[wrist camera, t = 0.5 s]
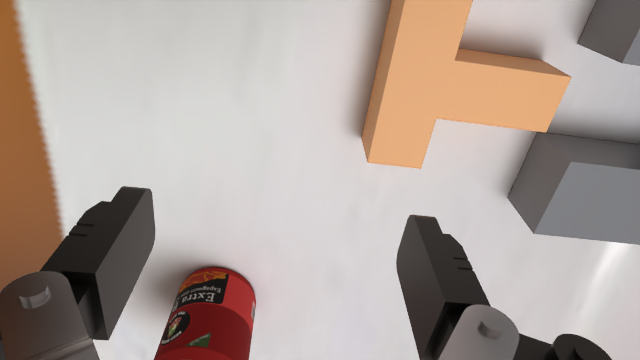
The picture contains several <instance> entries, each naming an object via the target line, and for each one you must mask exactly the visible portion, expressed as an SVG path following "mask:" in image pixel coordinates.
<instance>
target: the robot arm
mask: <svg viewBox="0 0 640 360" xmlns="http://www.w3.org/2000/svg"><path fill="white" fill-rule="evenodd" d="M154 240H155V222H154V210H153V199H152V192H151V190H150V189H147V188H137V187H126V186H123V187H121V188H120V190H119V191H118V193H117V194H116V195H115V197H114V198H113V200H112V201H111V202H105V201H101V202H100V203H98V204H96V205H95V206H93V207H92V208H90V209H88V210H87V211H86V212H85V213H84V214H83V216H82V217H81V218H80V220H79V221H78V222H77V225H76V226H74V227H73V229H72V230H71V231H70V232H69V236H66V238H65V239H64V240H63V241H62V243H61V244H60V245H59V247H58V248H57V249H56V251H55V252H54V253H53V254H52V256H51V257H50V258H49V260H48V261H47V262H46V263H45V265H44V266H43V267H42V269H41V270H40V271H39V272H34V273H31V274H27V275H24V276H22V277H20V278H18V279H16V280H14V281H12V282H11V283H9V284H8V285H7V286H6V287H5V288H3V289H2V291H1V292H0V360H100V359H99V357H98V354H97V351H96V348H95V346H94V343H93V341H92V340H93V339H96V340H109V338H110V336H111V334H112V332H113V330H114V328H115V326H116V323H117V321H118V319H119V317H120V315H121V313H122V311H123V309H124V307H125V305H126V303H127V301H128V299H129V296H130V294H131V292H132V290H133V288H134V286H135V284H136V282H137V280H138V278H139V276H140V274H141V271H142V269H143V267H144V265H145V263H146V261H147V259H148V257H149V255H150V253H151V251H152V248H153V245H154ZM396 264H397V273H398V277H399V281H400V284H401V288H402V292H403V296H404V300H405V304H406V308H407V312H408V315H409V319H410V323H411V327H412V331H413V335H414V339H415V342H416V346H417V350H418V354H419V358H420V360H612V359H611V358H610V357H609V356H608V354H607V353H606V352H605V351H604V350H602V349H601V348H600V347H599V346H597V345H596V344H595V343H593V342H591V341H590V340H588V339H586V338H583V337H581V336H578V335H574V334H562V335H559V336H558V337H557V338H556V339H555V341H554V342H553V344H552V345H551V344H548V343H546V342H543V341H540V340H537V339H534V338H531V337H528V336H525V335H522V334H520V333H519V332H518V330H517V328H516V326H515V324H514V323H513V322H512V321H511V319H510V318H508V317H507V316H506V315H505V314H503V313H502V312H500V311H499V310H497V309H495V308H493V307H491V306H490V304H489V302H488V299H487V297H486V295H485V293H484V291H483V289H482V287H481V285H480V283H479V281H478V279H477V277H476V275H475V272H474V271H472V269H473V268H472V266H471V264H470V262H469V261H468V258H467V256H466V254H465V252H464V250H463V247H462V246H461V245H460V244H459V243H458V242H457V241H456V240H455V239H454V238H453V237H452V236H451V235H450V234H443V233H442V231H441V229H440V226H439V224H438V222H437V220H436V218H435V217H429V216H419V215H410V216H409V218H408V220H407V223H406V226H405V230H404V233H403V236H402V240H401V243H400V246H399V249H398V253H397V262H396Z"/></svg>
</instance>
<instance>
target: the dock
mask: <svg viewBox="0 0 640 360" xmlns="http://www.w3.org/2000/svg"><path fill="white" fill-rule="evenodd" d="M577 44H579V45H581V46H584V47H586V48H588V49H591V50H593V51H595V52H597V53H600V54H602V55H604V56H607V57H609V58H611V59H614V60H616V61H618V62H620V63H624V64H631V65H638V66H640V0H597V1H596V4H595V6H594V8H593V10H592V12H591V15H590V17H589V19H588V21H587V24H586V26H585V28H584V30H583V32H582V35H581V37H580V39H579V41H578V43H577ZM508 199H509V201H510V202H511V204H512V205H513V206H514V208H515V209H516V210H517V212H518V213H519V214H520V216H521V217H522V219H523V220H524V221H525V223H526V224H527V225H528V227H529V228H530V229H531V231H532V232H533V234H542V235H551V236H561V237H571V238H580V239H590V240H600V241H609V242H619V243H629V244H638V245H640V145H637V144H629V143H621V142H614V141H606V140H598V139H590V138H582V137H575V136H567V135H559V134H551V133H543V132H537V134H536V136H535V139H534V141H533V143H532V145H531V147H530V150H529V152H528V154H527V156H526V158H525V161H524V163H523V165H522V167H521V170H520V172H519V174H518V176H517V178H516V181H515V183H514V185H513V187H512V189H511V192H510V194H509V196H508Z"/></svg>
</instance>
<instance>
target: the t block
mask: <svg viewBox="0 0 640 360" xmlns="http://www.w3.org/2000/svg"><path fill="white" fill-rule="evenodd" d="M472 2H473V0H391V4H390V9H389V14H388V18H387V23H386V28H385V32H384V37H383V42H382V46H381V51H380V55H379V60H378V65H377V69H376V74H375V79H374V83H373V88H372V93H371V97H370V102H369V106H368V111H367V116H366V120H365V125H364V130H363V134H362V142H363V146H364V150H365V154H366V158H367V162H368V163H375V164H384V165H393V166H401V167H410V168H418V169H421V167H422V164H423V160H424V157H425V154H426V151H427V147H428V144H429V141H430V138H431V134H432V131H433V128H434V125H435V122H436V119H444V120H452V121H460V122H468V123H475V124H483V125H491V126H499V127H507V128H514V129H522V130H530V131H538V132H546V131H547V129H548V127H549V125H550V123H551V121H552V118H553V116H554V114H555V112H556V110H557V108H558V105H559V103H560V101H561V99H562V97H563V95H564V93H565V90H566V88H567V86H568V84H569V82H570V80H571V77H570V76H569V75H567V74H565V73H563V72H562V71H560V70H558V69H556V68H555V67H553V66H551V65H549V64H548V63H546V62H544V61H542V60H536V59H529V58H522V57H515V56H508V55H501V54H495V53H488V52H481V51H474V50H467V49H460V48H458V47H459V44H460V41H461V37H462V34H463V31H464V28H465V25H466V21H467V18H468V15H469V12H470V8H471V5H472Z"/></svg>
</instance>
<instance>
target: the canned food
mask: <svg viewBox="0 0 640 360" xmlns="http://www.w3.org/2000/svg"><path fill="white" fill-rule="evenodd" d="M255 307H256V299H255V294H254V291H253V288H252V286H251V285H250V283H249V282H248V281H247V280H246V279H245V278H244V277H242V276H241V275H239V274H238V273H236V272H234V271H231V270H228V269H224V268H204V269H201V270H198V271H196V272H194V273H192V274H191V275H190V276H189V277H188V278H187V279H186V280H185V281H184V282H183V284H182V285H181V287H180V289H179V292H178V294H177V297H176V300H175V303H174V305H173V308H172V311H171V314H170V316H169V319H168V322H167V325H166V327H165V330H164V333H163V336H162V339H161V341H160V344H159V347H158V350H157V352H156V355H155V358H154V360H249V352H250V345H251V337H252V330H253V322H254V315H255Z"/></svg>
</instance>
